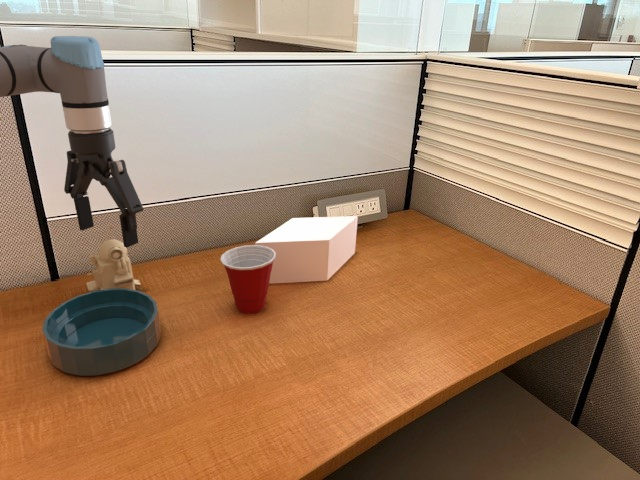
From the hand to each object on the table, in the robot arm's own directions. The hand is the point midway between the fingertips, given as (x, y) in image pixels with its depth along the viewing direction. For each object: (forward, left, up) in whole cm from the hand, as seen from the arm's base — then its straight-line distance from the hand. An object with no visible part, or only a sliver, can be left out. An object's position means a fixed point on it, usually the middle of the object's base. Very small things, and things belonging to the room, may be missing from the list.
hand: (108, 236), depth 95 cm
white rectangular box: (+27, +33, -13) cm, 45 cm away
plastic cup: (+26, +12, -13) cm, 31 cm away
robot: (0, 0, -13) cm, 13 cm away
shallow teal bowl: (+13, -12, -13) cm, 22 cm away
